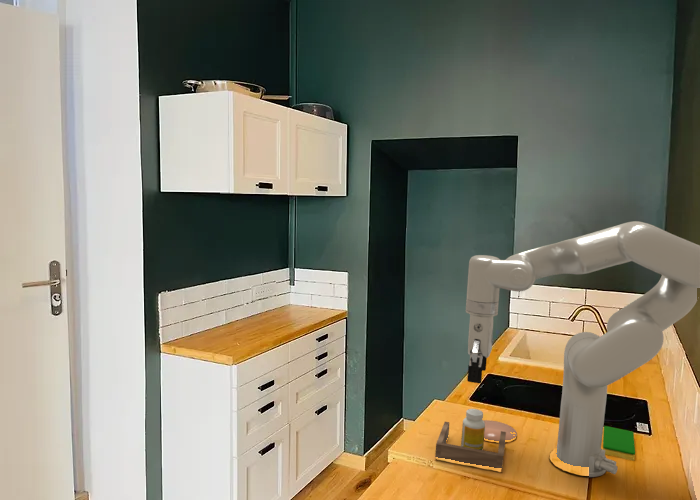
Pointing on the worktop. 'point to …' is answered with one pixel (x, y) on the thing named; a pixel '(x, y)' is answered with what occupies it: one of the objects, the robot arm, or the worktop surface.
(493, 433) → the terracotta coaster
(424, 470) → the worktop surface
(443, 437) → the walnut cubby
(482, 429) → the supplement bottle
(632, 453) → the dish sponge
